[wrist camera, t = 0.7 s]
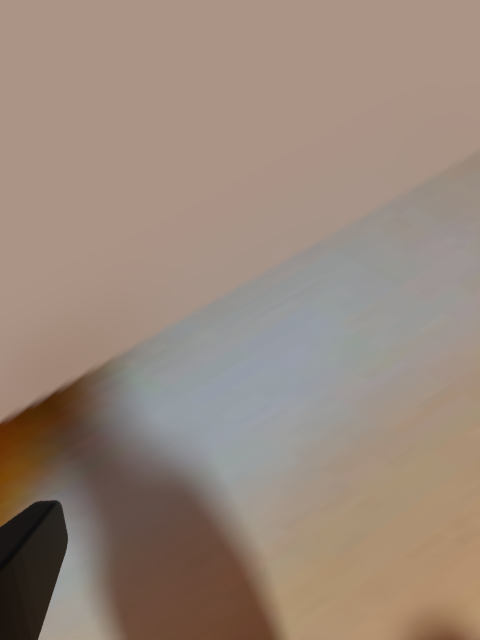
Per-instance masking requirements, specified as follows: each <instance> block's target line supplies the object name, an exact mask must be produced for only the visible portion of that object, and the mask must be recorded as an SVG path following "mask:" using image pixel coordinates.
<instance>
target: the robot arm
mask: <svg viewBox="0 0 480 640" xmlns="http://www.w3.org/2000/svg"><path fill="white" fill-rule="evenodd" d="M67 543H68V534H67V529H66V524H65V519H64V514H63V508H62V505H61V503H60V502H59V501H57V500H52V501H39V502H35V503H33V504H32V505H30V506H29V507H28V508H26V509H25V510H23V511H22V512H21V513H19V514H18V515H17V516H15V517H14V518H12V519H11V520H10V521H8V522H7V523H5V524H4V525H3V526H1V527H0V640H38V638H39V635H40V632H41V629H42V625H43V622H44V619H45V616H46V613H47V610H48V606H49V603H50V600H51V597H52V594H53V591H54V587H55V584H56V581H57V578H58V575H59V572H60V568H61V565H62V562H63V559H64V556H65V553H66V549H67Z"/></svg>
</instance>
